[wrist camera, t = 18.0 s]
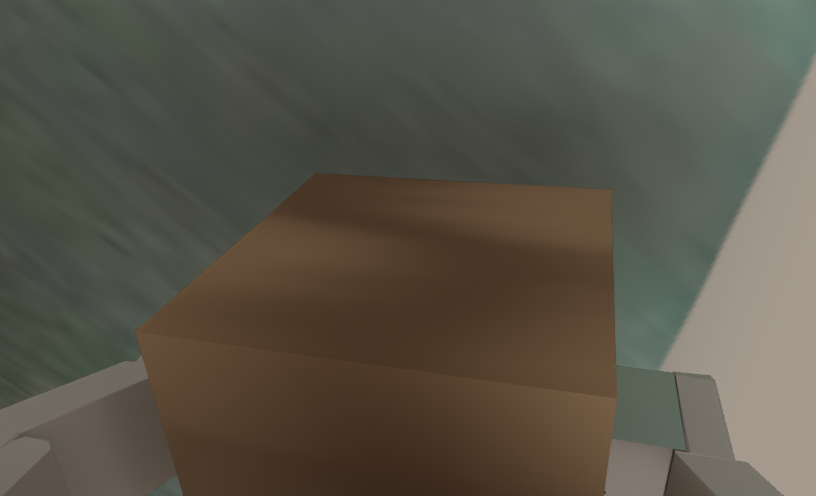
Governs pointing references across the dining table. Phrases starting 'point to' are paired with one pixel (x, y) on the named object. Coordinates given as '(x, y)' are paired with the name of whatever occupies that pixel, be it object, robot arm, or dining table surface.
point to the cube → (397, 345)
